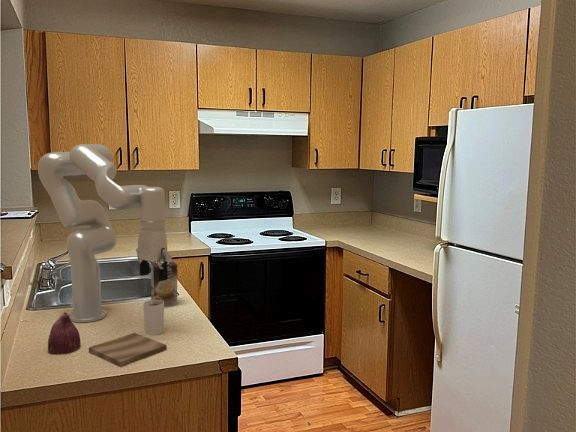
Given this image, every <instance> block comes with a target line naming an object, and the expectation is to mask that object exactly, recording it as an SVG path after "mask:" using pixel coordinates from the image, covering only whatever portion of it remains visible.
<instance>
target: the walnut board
mask: <svg viewBox="0 0 576 432" xmlns="http://www.w3.org/2000/svg"><path fill="white" fill-rule="evenodd" d="M167 348H168V347H167V344H165V343H163V342H159V341H157V340H155V339H152V338H149V337H146V336H145V335H142V334H139V333H136V332H132V333H129V334H126V335H122V336H119V337H116V338H113V339H110V340H108V341H104V342H101V343H98V344H95V345H93V346H89V347H88V353H89V354H92V355H94V356H95V357H98V358H100V359H102V360H105V361H107V362H109V363H111V364H113V365H115V366H118V367H120V368H122V367H125V366H127V365H130V364H132V363H135V362H138V361H140V360H143V359H146V358H148V357H151V356H153V355H154V356H155V355H156V354H159V353H162V352H164V351H167V350H168V349H167Z"/></svg>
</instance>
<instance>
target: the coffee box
mask: <svg viewBox="0 0 576 432" xmlns="http://www.w3.org/2000/svg"><path fill="white" fill-rule="evenodd" d="M161 263H162V264H163V262H161ZM158 269H160V268H159V266H158V264H157V262H156V263H152V262H150V300H162V301H164V308H167V307H175V306H176V307H177V306H178V264H177V263H175V262H174V261H170V265H169V268H168V279H167V280H164V281H159V280H158Z"/></svg>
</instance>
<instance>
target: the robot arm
mask: <svg viewBox="0 0 576 432" xmlns="http://www.w3.org/2000/svg"><path fill="white" fill-rule="evenodd" d="M37 173H38V177H39V181H41V184H42V186H43V187H44V189H45V190H46V192H47V194H48V195H49V197H50V199H51V202H52V204H53V206H54V210H55V211H56V213H57V216H58V218H59V220H60V221H61V222H60V223H61V224H62V225H63V227H65V228H67V229H78V228H79V230H75V231H73V232H71V233H70V234H69V235H68V237H67V238H66V248H67V253H68V257H69V264H70V274H71V275H70V278H71V279H70V280H71V297H72V298H71V300H72V301H71V302H72V303H70V305H69V307H70V308H72V311H71V312H70V313H68V314H69V316H70V319H71V321H72V323H89V322H90V323H91V322H96V321H100V320H101V319H104V318H105V317H106V316H107V311H106V310H104V309H102V296H101V295H102V286H101V285H102V284H101V267H100V264H99V262H98V260H97V259H96V257H95V255H98V254H104V253H106V252H110V251H112V250H113V249H115V246H116V245H117V236H116V233H115V230H114V228H113V226H112V223H111V221H110V219H109V216H108V214H107V213H106V210H105V208H104V207H103V205H102V204H101V203H100V202H98V201H97V200H94V199H85V200H84V199H83V200H82V199H80V198H79V195H78V193H77V190H76V189H75V187H74V186H73V185H72V184H71V183H70V182H69V181H68V180H67V179H65V178H64V177H69V176H70V177H71V176H84V175H86V176H87V177H88V178H90V180H92V181H93V182H94V186H95V187H94V188H95V190H96V193H97V195H98V196H99V198H100V199H101V200H102V201H103V202H105V203H106V204H108V205H109V206H110V207H112V208H113V209H116V210H119V211H123V210H125V211H126V210H132V209H139V210H140V211H139V213H140V229H139V232H138V239H137V240H138V241H137V242H138V243H137V248H136V249H135V251H136V255H137V257H136V258H137V259H138V264H139V276H141V277H143V276H148V275H150V263H157V264H158V266H159V268H160V269H158V280H159V281H164V280H167V279H168V268H169V265H170V262H172V257H173V256H172V255H171V254H170V253H169V252H168V241H167V239H168V238H167V233H166V215H165V214H166V213H165V212H166V209H165V207H166V206H165V204H166V203H165V202H166V201H165V200H166V199H165V190H164V188H162V187H160V186H149V185H144V184H133V185H132V184H130V185H119V184H117V183H116V182H115V181H113V180H114V179H115V177H116V175H117V166H116V165H115V164H114V163H113V153H112V152H111V150H110V149H109V147H107V146H106V145H104V144H101V143H100V144H99V143H87V144H86V143H79V144H76V145H75V146H73V147H72V148H71V149H70V151H52V152H48V153H45V154H43V155H42V156H41V157H40V159H39V160H38V165H37ZM86 227H88V228H86ZM81 228H82V229H81ZM162 263H163V264H162Z"/></svg>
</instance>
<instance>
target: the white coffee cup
mask: <svg viewBox="0 0 576 432" xmlns="http://www.w3.org/2000/svg"><path fill="white" fill-rule="evenodd" d="M142 307H143V318H144V319H143V320H144V333H145V334H146V335H148V334H149V335H148V336H157V334H158V335H160V333H161V334H162V332H163V333H164V324H165V323H164V321H165V320H164V318H165V307H164V301H162V300H151V299H149V300H145V301H143V305H142Z"/></svg>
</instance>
